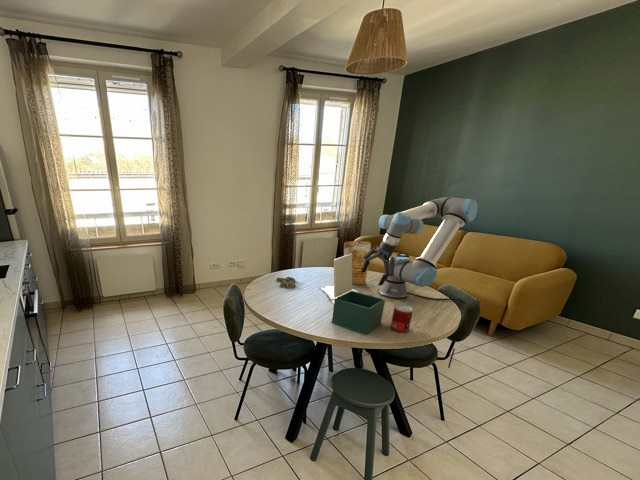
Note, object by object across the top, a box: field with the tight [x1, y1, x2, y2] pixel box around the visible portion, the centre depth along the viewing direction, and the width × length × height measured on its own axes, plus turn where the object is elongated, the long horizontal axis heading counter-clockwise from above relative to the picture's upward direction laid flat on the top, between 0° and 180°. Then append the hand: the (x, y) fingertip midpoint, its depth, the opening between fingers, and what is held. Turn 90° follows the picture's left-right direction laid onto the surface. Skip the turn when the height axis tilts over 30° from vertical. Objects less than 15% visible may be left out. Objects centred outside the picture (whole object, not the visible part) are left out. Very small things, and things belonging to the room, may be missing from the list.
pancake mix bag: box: [343, 240, 372, 285], centre depth 215 cm, size 7×19×28 cm, turn 93°
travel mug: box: [395, 252, 410, 258], centre depth 217 cm, size 8×8×20 cm
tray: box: [320, 285, 358, 305], centre depth 198 cm, size 20×28×4 cm
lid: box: [333, 254, 353, 298], centre depth 160 cm, size 19×17×1 cm
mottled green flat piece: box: [276, 276, 296, 289], centre depth 217 cm, size 18×12×2 cm, turn 2°
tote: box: [331, 291, 386, 335], centre depth 160 cm, size 18×17×13 cm
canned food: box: [390, 304, 414, 333], centre depth 155 cm, size 8×8×11 cm
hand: (371, 278), depth 179 cm, fingers open, 13 cm apart
